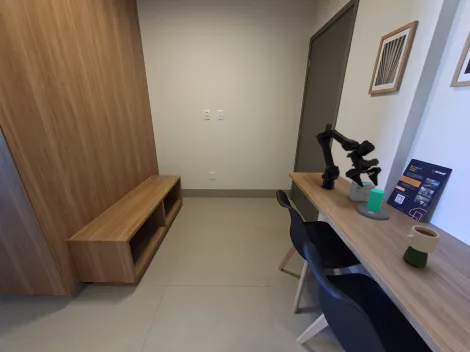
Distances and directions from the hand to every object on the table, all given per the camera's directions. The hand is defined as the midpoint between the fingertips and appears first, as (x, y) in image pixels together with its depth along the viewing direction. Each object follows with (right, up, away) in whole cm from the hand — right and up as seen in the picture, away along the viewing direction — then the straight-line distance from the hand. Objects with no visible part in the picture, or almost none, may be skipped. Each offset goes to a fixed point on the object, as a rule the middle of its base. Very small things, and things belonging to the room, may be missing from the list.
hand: (369, 186), depth 105 cm
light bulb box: (+4, -9, +16) cm, 18 cm away
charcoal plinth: (+1, -14, 0) cm, 14 cm away
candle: (+1, -12, 0) cm, 12 cm away
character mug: (-7, -25, -33) cm, 43 cm away
